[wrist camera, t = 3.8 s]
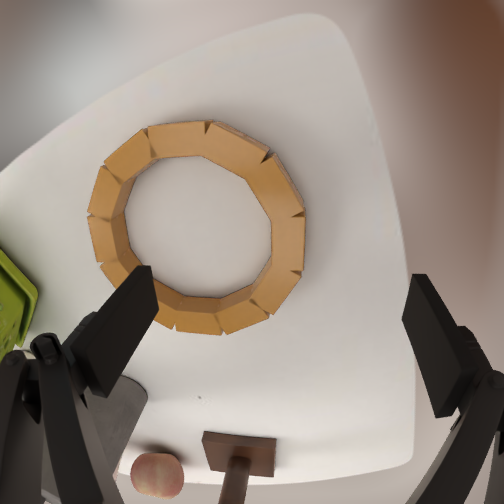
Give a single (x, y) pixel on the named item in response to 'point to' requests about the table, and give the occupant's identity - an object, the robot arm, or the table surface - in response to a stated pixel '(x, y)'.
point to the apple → (157, 475)
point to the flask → (103, 428)
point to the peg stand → (238, 461)
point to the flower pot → (14, 305)
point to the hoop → (240, 163)
